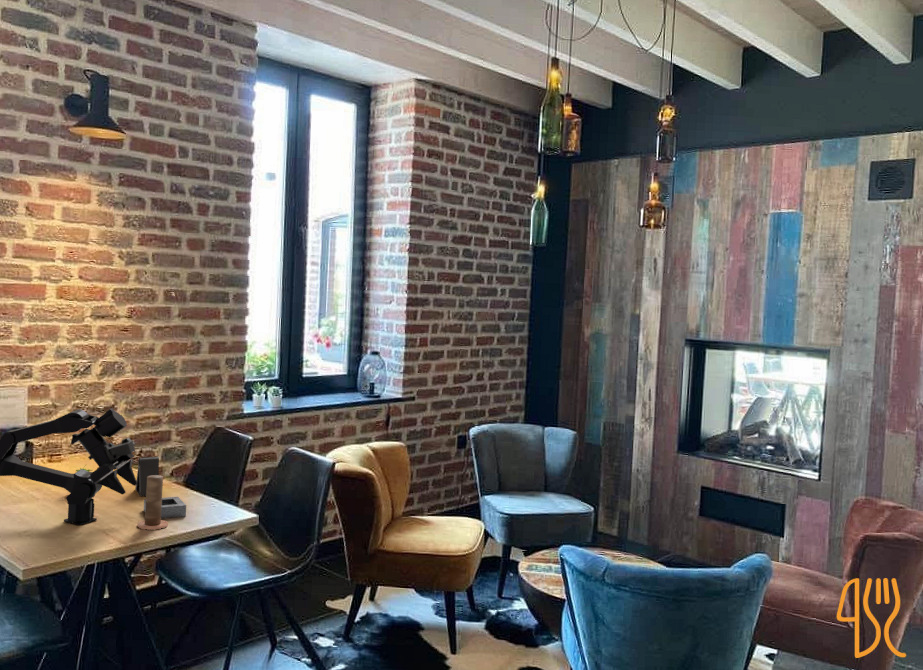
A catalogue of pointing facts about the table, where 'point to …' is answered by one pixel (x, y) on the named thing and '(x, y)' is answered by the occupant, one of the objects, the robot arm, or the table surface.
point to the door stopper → (146, 473)
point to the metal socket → (171, 507)
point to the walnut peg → (153, 500)
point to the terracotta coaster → (143, 526)
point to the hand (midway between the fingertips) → (130, 489)
